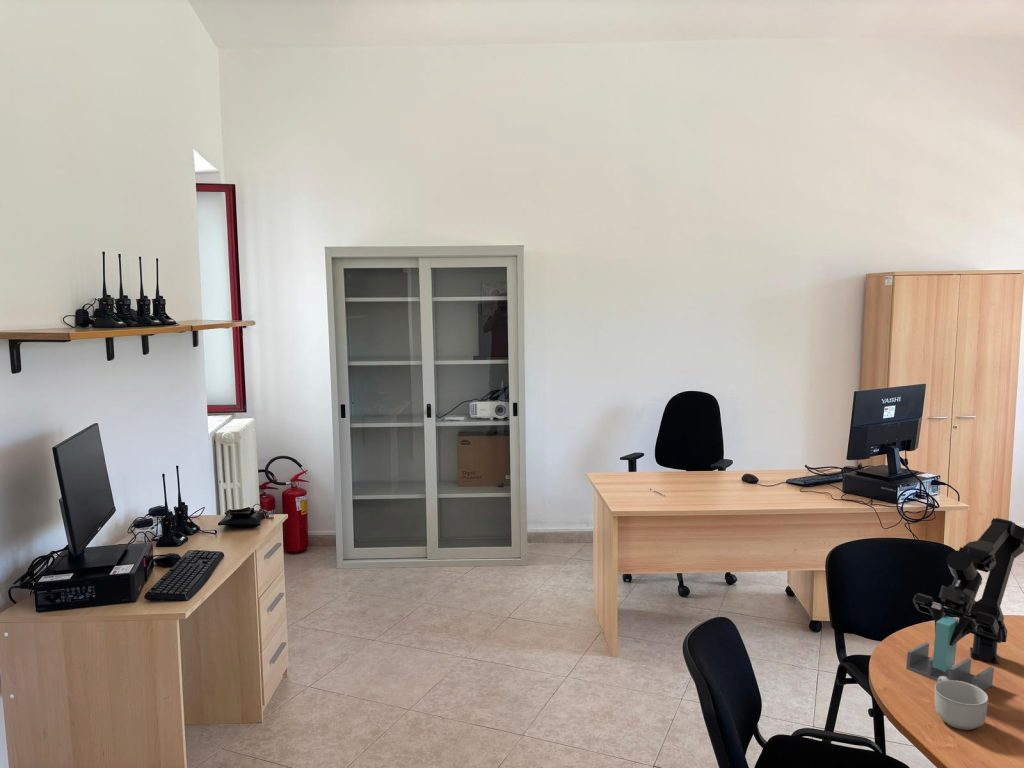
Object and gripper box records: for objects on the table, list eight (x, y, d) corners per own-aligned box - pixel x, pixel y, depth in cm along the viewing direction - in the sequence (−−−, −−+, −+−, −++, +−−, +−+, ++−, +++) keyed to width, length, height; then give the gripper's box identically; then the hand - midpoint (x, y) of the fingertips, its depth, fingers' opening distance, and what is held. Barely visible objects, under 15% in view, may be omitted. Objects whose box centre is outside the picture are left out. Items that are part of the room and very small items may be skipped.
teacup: (993, 738, 168) (996, 705, 167) (941, 732, 170) (944, 700, 169) (968, 705, 182) (971, 675, 181) (920, 700, 184) (923, 670, 183)
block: (941, 659, 191) (945, 615, 189) (954, 664, 189) (958, 619, 187) (932, 667, 187) (936, 621, 186) (945, 671, 185) (949, 626, 183)
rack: (924, 658, 205) (926, 642, 205) (992, 685, 191) (993, 667, 191) (906, 668, 200) (907, 651, 199) (974, 696, 186) (975, 678, 185)
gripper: (918, 563, 194) (896, 614, 189) (999, 585, 180) (978, 641, 175) (928, 584, 200) (907, 634, 195) (1007, 607, 186) (987, 662, 181)
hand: (943, 642), depth 186 cm, fingers closed on block, 3 cm apart
